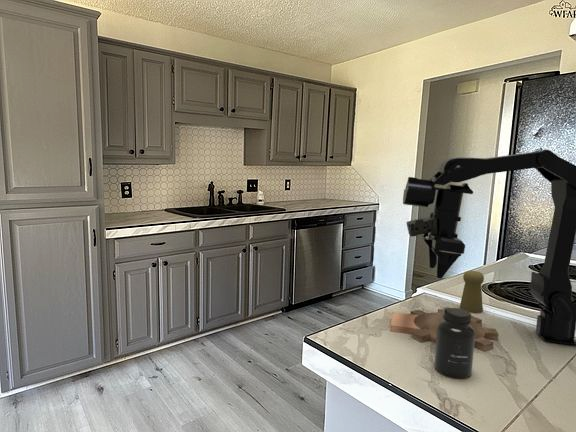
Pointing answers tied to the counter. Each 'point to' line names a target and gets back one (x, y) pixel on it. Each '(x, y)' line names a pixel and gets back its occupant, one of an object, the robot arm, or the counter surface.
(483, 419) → the counter surface
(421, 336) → the sprocket plate
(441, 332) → the supplement bottle
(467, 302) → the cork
